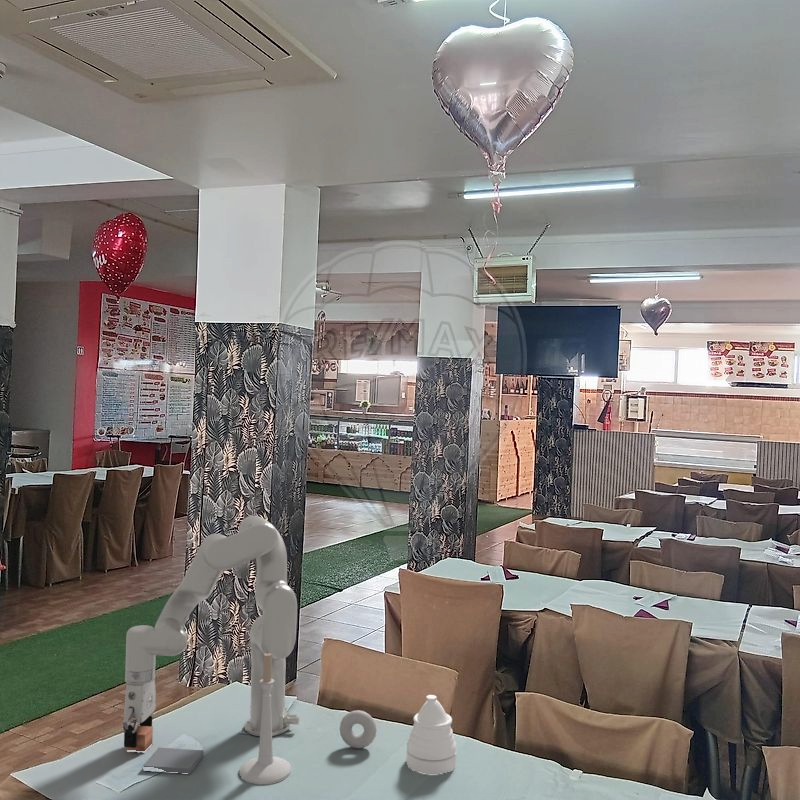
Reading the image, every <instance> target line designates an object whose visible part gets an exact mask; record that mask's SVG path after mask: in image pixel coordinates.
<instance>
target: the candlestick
mask: <svg viewBox="0 0 800 800" xmlns="http://www.w3.org/2000/svg"><path fill="white" fill-rule="evenodd" d="M271 661H272V654H271V653H268V652H267V653H265V654H264V660H263V679H262V680H260V682H261V683H262V689H263V691H264V694H263V702H262V716H261V731H260V736H259V746H258V756H257V757H254V758H251V759H249V760H247V761H246V762H244V763H243V764H242V765H241V766H240V768H239V774H240V775H239V774H238V775H239V777H240V776H241V777H240V779H242V780H243V779H244V780H245V781H244V780H243V781H244V782H246V781H248V782H247V783H249V782H250V783H249V784H252V783H254V784H253V785H262V784H263V785H273V784H276V783H279V782H281V781H284V780H286V779H287V778H288V777H289V776H290V775H291V773H292V765H291V764H290V762H289V761H287V760H285V759H284V758H281V757H279V756H275V755H274V751H273V750H274V747H273V736H272V717H271V694H270V691H271V688H272V683H273V682H274V679H271ZM263 785H262V786H263Z"/></svg>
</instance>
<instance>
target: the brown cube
mask: <svg viewBox="0 0 800 800" xmlns="http://www.w3.org/2000/svg"><path fill="white" fill-rule="evenodd" d="M136 732H137V746H136V747H135V748H130V747H125V748H126V750H136V751H145V750H146V749H147V748H148V747H149V746H150V745H151V744H152V745H153V741H154V739H153V737H154V736H153V733H154V727H153V726H152V727H151V726H140V725H137V728H136Z"/></svg>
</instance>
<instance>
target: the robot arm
mask: <svg viewBox="0 0 800 800" xmlns="http://www.w3.org/2000/svg"><path fill="white" fill-rule="evenodd" d="M286 548H287V547H286V545H285V542H284V539H283V537H282V536H281V534H280V532H279V531H278V530H277V528H276V527H275V526H274V525H273V524H272V523H271V522H270V521H268V520H266V519H265V518H263V517H261V516H258V515H249V516H247V517H245V518H244V519H243V520H242V521H241V522H240V524H239V528H238V532H236V533H234V534H232V535H228V536H225V535H224V534H222V533H221V534H220V533H211V534H209V535H207V536H206V537H205V538H204V539H203V541H202V542H201V544H200V546H199V548H198V550H197V552H196V553H195V556H194V557H193V559H192V561H191V563H190V565H189V567H188V569H187V570H186V573H185V575H184V577H183V578H182V581H181V582H180V584H179V585H178V586H177V587H176V589H175V590H174V591H173V593H172V594H171V596H170V597H169V598H168V600H167V601H166V603H165V605H164V607H163V608H162V611H161V613H160V614H159V617H158V618H157V620H156V622H155V625H154V627H153V626H151V625H147V624H145V625H144V624H142V625H135V626H134V625H133V626H132V627H130V628H128V630H127V632H126V636H125V637H126V639H125V640H126V641H125V668H124V669H125V670H124V671H125V672H124V674H125V675H124V682H125V683H126V687H125V688H126V689H125V696H124V709H123V710H124V711H123V712H124V713H123V714H124V715H123V717H124V718H123V720H122V725H123V733H124V734H123V738H124V739H123V746H124V748H126V747H130V748H135V747H136V746H137V732H136V728H137V726H151V727H153V716H154V715H153V714H154V711H155V710H156V707H157V703H156V702H157V699H156V697H157V696H156V695H157V694H156V680H155V679H156V659H157V657H156V656H161V657H163V656H164V657H174V656H178V655H180V654H182V653H183V652H184V651H185V649H186V648H187V646H188V641H189V640H188V635H187V633H186V632H185V630H184V627H185V625H186V623H187V621H188V619H189V617H190V616H191V613H192V612H193V611H194V609H195V608H196V607H197V605H198V604H199V603H201V602H203V601H205V600H207V599H208V598H209V597H210V596H211V595H212V593H213V590H214V589H215V586H217V583H218V581H219V579H220V577H221V575H222V573H223V572H225V571H229V570H232V569H234V568H236V567H240V566H242V565H244V564H245V563H248V562H250V561H252V560H255V559H256V560H255V561H256V578H255V579H256V580H255V591H254V600H255V603H256V605H257V606H258V607H259V609H260V610H261V611H262V615H260V616H258V617H257V618H256V619H255V620H254V621H253V623H252V624H251V627H250V631H249V643H250V645H249V646H250V654H251V655H250V657H251V658H250V659H251V662H250V663H251V664H250V665H251V669H250V670H251V673H250V712H249V713H250V714H249V715H250V717H249V718H248V719H247V720H246V721H245V722H244V731H245V732H246V731H247V732H246V733H247V734H249V735H252V736H256V737H260V731H261V716H262V702H263V694H264V691H263V689H262V683H261V682H260V680H262V679H263V660H264V654H265V653H267V652H268V653H271V654H272V661H271V679H274V682H273V683H272V688H271V691H270V694H271V717H272V737H275V736H278V735H281V734H284V733H286V732H287V731H288V730H289V729H290V727H291V725H295V726H296V725H297V726H298V725H299V724H300V717H299V716H298V714H290V713H288V708H287V707H286V702H285V701H286V668H287V667H286V665H287V664H286V658H287V657H289V656H290V654H292V652H293V650H294V648H295V645H296V639H297V638H296V637H297V624H298V623H297V622H298V620H297V619H298V602H297V601H298V600H297V595H296V594H295V591H294V590H293V589H292V588H291V587H290V586H289V585H288V554H287V549H286ZM285 707H286V708H285ZM132 725H133V726H132Z"/></svg>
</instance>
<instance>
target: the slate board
mask: <svg viewBox="0 0 800 800" xmlns="http://www.w3.org/2000/svg"><path fill="white" fill-rule="evenodd" d="M201 758H202V759H203V758H204V749H203V750H202V749H190V748H189V749H187V748H171V747H158V748H157V749H156V750H155V751H154V752H153V753H152V754H151V756H150V757H149V758H148V759H147V760H146V761H145V763H144V764H142V767H143V766H144V767H154V768H158V769H162V770H164V771H166V772H178V773H188V774H190V773H191V774H192V772H193V771H194V770H195V768H196V767H197V766H198V764H199V763H200V762H201V760H202V759H201ZM198 762H199V763H198ZM197 763H198V764H197ZM196 765H197V766H196ZM195 766H196V767H195ZM193 769H194V770H193ZM192 770H193V771H192ZM191 771H192V772H191ZM191 774H190V775H191Z"/></svg>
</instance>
